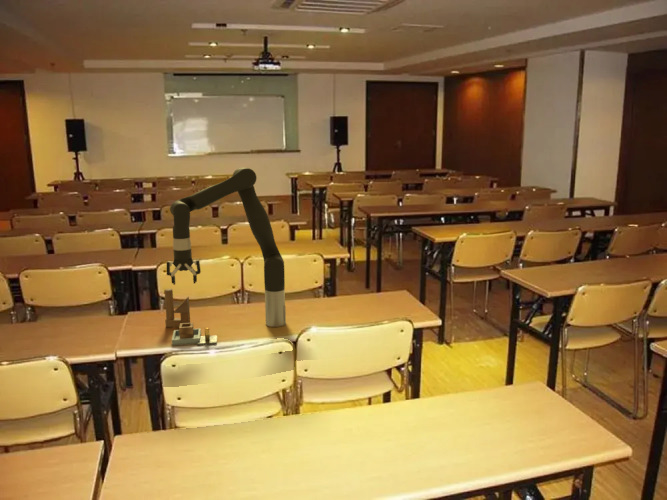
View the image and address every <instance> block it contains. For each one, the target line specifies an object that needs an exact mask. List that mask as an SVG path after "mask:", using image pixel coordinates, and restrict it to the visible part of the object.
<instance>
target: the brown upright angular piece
mask: <svg viewBox="0 0 667 500" xmlns="http://www.w3.org/2000/svg"><path fill="white" fill-rule="evenodd" d="M173 292H174V291H173V289H172V288H165V289H164V303H165V317H166V319H165V323H164V324H165V328H179V326H180V323H191V313H190V312H191V311H190V297H189V296H187V297H186V298H185V299H184V300H183V301H182V302H181V303H180V304H179V306H177V307H176V308H175V306H174V294H173ZM175 314H180V315H179V316H180V317H175Z"/></svg>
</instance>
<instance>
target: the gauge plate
mask: <svg viewBox="0 0 667 500" xmlns="http://www.w3.org/2000/svg"><path fill="white" fill-rule="evenodd" d="M217 344H218V335H216V334H214V335H211V334H210V328H209V327H204V335H201V336H200V341H198V344H197V346H198V347H199V346H200V347H201V346H210V345H211V346H213V345H217Z"/></svg>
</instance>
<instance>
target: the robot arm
mask: <svg viewBox="0 0 667 500" xmlns="http://www.w3.org/2000/svg"><path fill="white" fill-rule="evenodd" d="M256 182H257V173H256V171H254V170H253V169H252V168H249V167H239V168H236V169H235V170H234V172H233V174H232V176H230V177H228V178H227V179H225V180H223V181H221V182H218V183H215V184H213V185H211V186H208V187H205V188H203V189H201V190H199V191H197V192H195V193H193V194H192V195H188V196H185V197H182V198H180V199H176V201H174V202H172V203H171V205H170V208H169V211H170V214H171V215H172V216H173V225H172V253H173V260H172V261H170V260H167V262H166V276H170V279H171V284H173V285H174V286H175V285H176V273H177V272H178V271H179V272H183V271H186V272H187V271H189V272H190V273H192V280H193V284H196V283H197V280H198V278H197V276H198V275H200V274H201V272H202V271H201V264H200V262H201V261H200V259H196V260H195V259H194V260H193V259H192V258H193V256H192V255H193V254H192V241H191V233H190V229H191V228H190V224H191V223H190V222H191V212H194V211H196V210H197V211H198V210H202V209H203V208H206V207H207V206H209V205H212V204H214V203H215V202H217V201H219V200H221V199H223V198H224V197H227V196H229V195H231V194H234V193H236V192H237V193H238V195H239V197H240V200H241V202H242V206H243V210H244V213H245V216H246V218H247V219H246V220H247V222H248V224H249V227H250V230H251V233H252V235H253V237H254V239H255V241H256V242H257V243H258V246H259V248H260V251H261V253H262V258H263V274H264V275H263V278H264V279H263V280H264V282H263V283H264V308H265V313H264V314H265V315H264V316H265V325H266V326H267V327H270V328H276V327H277V328H279V327H284V326H286V325H287V321H286V315H287V312H286V310H287V309H286V302H285V301H286V300H285V299H286V296H285V294H286V292H285V289H286V288H285V287H286V286H285V285H286V284H285V261H284V258H283V257H282V254H281V252H280V251H279V248H278V246H277V244H276V241H275V240H276V239H275V237H274V231H273V227H272V224H271V221H270V219H269V215H268V213H267V211H266V209H265V207H264V205H263V204H262V203H261V201H260V199H259V197H258V196H257V193H256V190H255V186H254V185H255V184H256ZM193 264H194V265H195V266H196V270H195V268H193V266H192V265H193ZM172 265H173V266H174V267H175V268H174V269H173V271H172V272H171V267H172Z"/></svg>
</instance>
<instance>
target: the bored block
mask: <svg viewBox="0 0 667 500" xmlns="http://www.w3.org/2000/svg"><path fill="white" fill-rule="evenodd" d="M194 329H195V328H194V322H190V323H180V326H179V327H178V330H179V333H180V339H184V338H194Z"/></svg>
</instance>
